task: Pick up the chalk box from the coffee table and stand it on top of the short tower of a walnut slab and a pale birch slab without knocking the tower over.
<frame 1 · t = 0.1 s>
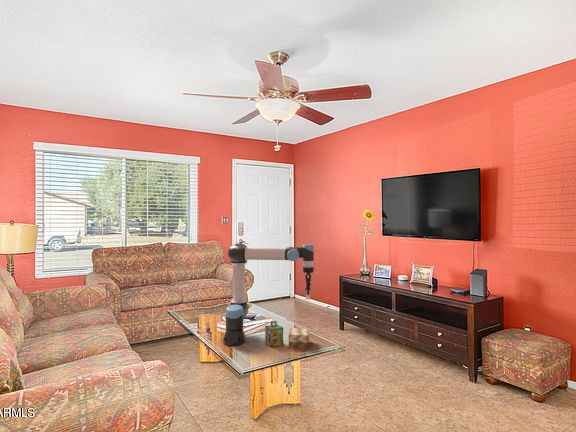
hand: (308, 297, 247), 28 cm above the table, tool pointing down, fingers open, 13 cm apart
birch slab: (299, 338, 232), point 4 cm above the table, touching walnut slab
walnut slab: (299, 345, 232), on the table, touching birch slab
chalk box: (274, 344, 233), on the table
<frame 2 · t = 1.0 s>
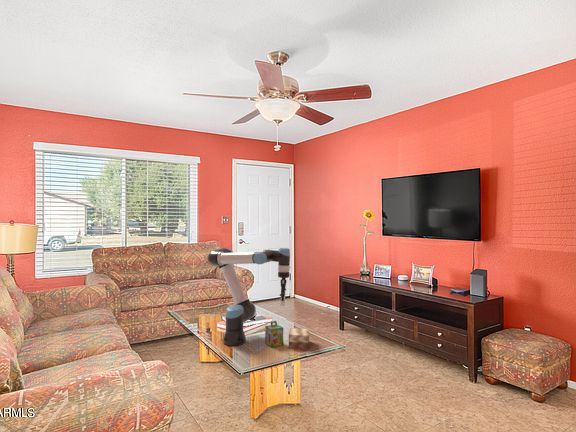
hand: (282, 302, 237), 26 cm above the table, tool pointing down, fingers open, 13 cm apart
nothing on the table moved.
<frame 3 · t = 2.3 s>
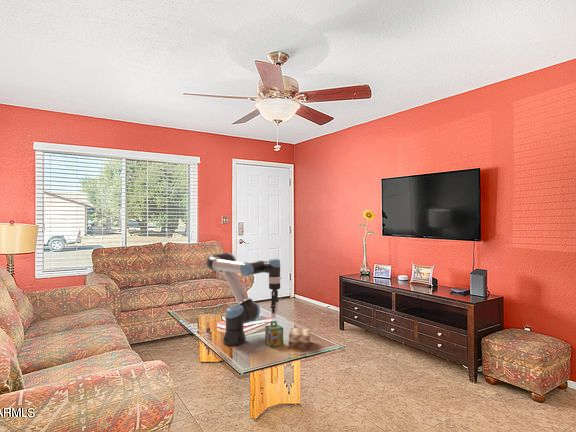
hand: (274, 314, 233), 19 cm above the table, tool pointing down, fingers open, 13 cm apart
nothing on the table moved.
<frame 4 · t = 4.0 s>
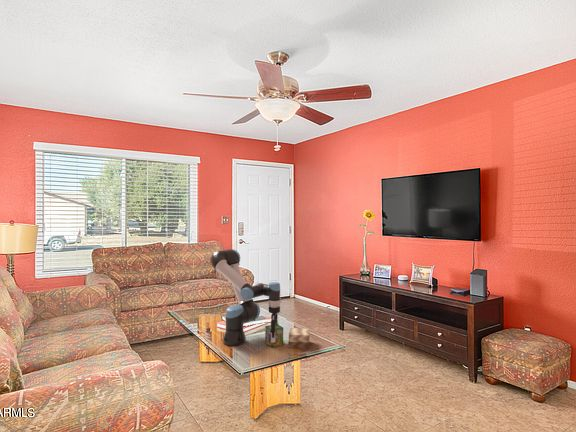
hand: (274, 338, 233), 4 cm above the table, tool pointing down, fingers closed on chalk box, 12 cm apart
chalk box: (274, 344, 233), on the table, touching gripper
everything else where it was.
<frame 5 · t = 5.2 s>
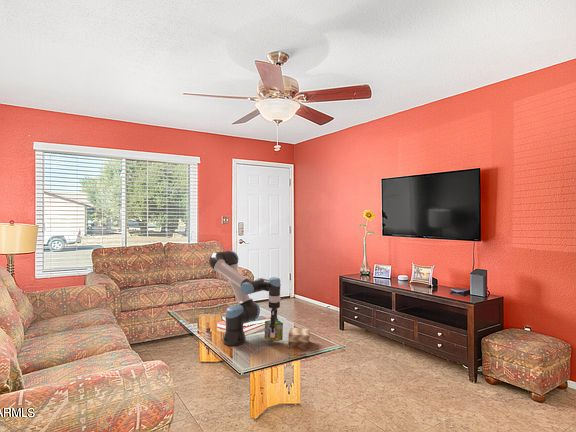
hand: (273, 333, 233), 7 cm above the table, tool pointing down, fingers closed on chalk box, 12 cm apart
chalk box: (273, 339, 233), point 3 cm above the table, touching gripper
everything else where it was.
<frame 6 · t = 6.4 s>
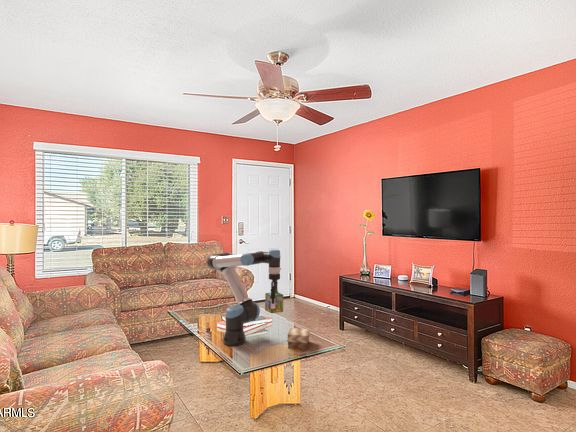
hand: (274, 305, 233), 25 cm above the table, tool pointing down, fingers closed on chalk box, 12 cm apart
chalk box: (274, 311, 233), point 22 cm above the table, touching gripper
everything else where it was.
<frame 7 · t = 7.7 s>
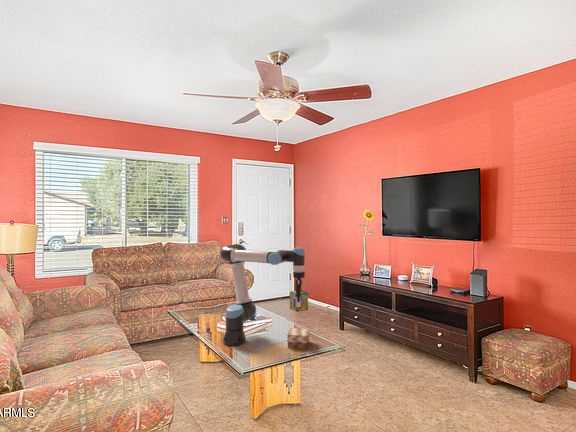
hand: (298, 304, 232), 27 cm above the table, tool pointing down, fingers closed on chalk box, 12 cm apart
chalk box: (298, 309, 232), point 23 cm above the table, touching gripper
everything else where it was.
when the fingers open (14 cm above the table, at t = 10.7 s): chalk box drops 2 cm, point 8 cm above the table.
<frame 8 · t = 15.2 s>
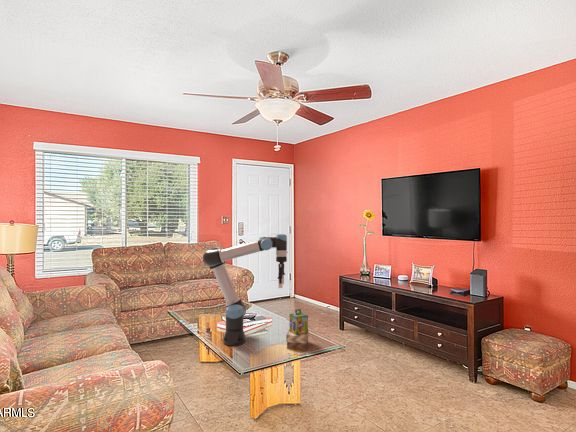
hand: (281, 286, 251), 35 cm above the table, tool pointing down, fingers open, 13 cm apart
chalk box: (298, 332, 232), point 8 cm above the table
at the end: chalk box inside the target area on the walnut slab (0.6 cm from its centre), point 8.8 cm above the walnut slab's base; chalk box tilted 0°; birch slab 0.1 cm off-centre on the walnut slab, point 4.5 cm above the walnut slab's base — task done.
